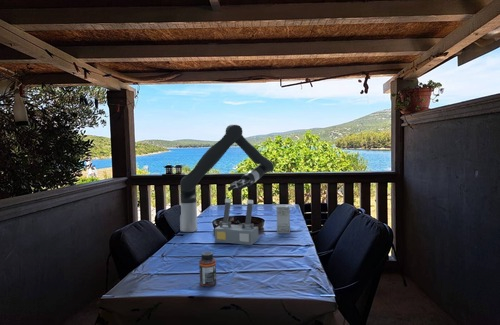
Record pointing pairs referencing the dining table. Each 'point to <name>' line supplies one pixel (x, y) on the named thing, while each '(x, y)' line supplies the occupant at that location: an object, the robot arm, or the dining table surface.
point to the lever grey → (248, 213)
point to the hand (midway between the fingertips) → (233, 189)
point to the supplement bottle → (207, 269)
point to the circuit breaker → (283, 219)
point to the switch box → (236, 234)
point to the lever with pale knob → (226, 212)
